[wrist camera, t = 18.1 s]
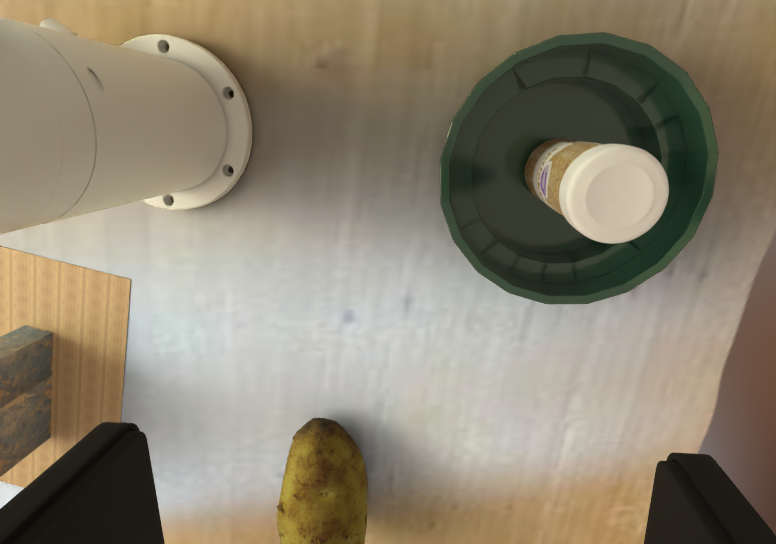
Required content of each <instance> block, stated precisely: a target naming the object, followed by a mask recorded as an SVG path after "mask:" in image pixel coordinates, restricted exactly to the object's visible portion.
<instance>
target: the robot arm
mask: <svg viewBox="0 0 776 544" xmlns="http://www.w3.org/2000/svg"><path fill="white" fill-rule="evenodd" d="M168 45H169V51H168V49H167V47H168ZM231 91H234V96H233V98H232V97H231V96H230V92H231ZM251 147H252V120H251V114H250V109H249V106H248V103H247V100H246V97H245V94H244V92H243V90H242V88H241V87H240V85H239V83H238V81H237V79H236V78H235V76H234V75H233V74H232V73H231V71H230V70H229V69H228V68H227V66H226V65H225V64H224V63H223V62H222V61H221V60H220V59H218V58H217V57H216V56H215V55H214V54H213V53H212V52H210V51H208V50H207V49H205V48H203V47H202V46H200V45H198V44H196V43H193V42H191V41H188V40H186V39H183V38H179V37H175V36H171V35H159V34H151V35H145V36H140V37H136V38H134V39H131V40H129V41H127V42H125V43H122V44H121V45H120V46H117V45H113V44H109V43H105V42H101V41H97V40H93V39H89V38H85V37H81V36H78V35H77V34H76V33H75V32H73V31H72V30H71V29H69V28H68V27H67V26H65V25H64V24H62V23H61V22H60V21H58V20H57V19H55V18H51V17H50V18H46V19H44V20H43V21H42V22H41V23H40V24H39V26H37V25H33V24H28V23H24V22H20V21H16V20H12V19H8V18H5V17H1V16H0V234H3V233H7V232H11V231H15V230H19V229H23V228H27V227H31V226H36V225H40V224H45V223H49V222H53V221H57V220H62V219H66V218H70V217H74V216H78V215H82V214H86V213H91V212H95V211H99V210H103V209H107V208H111V207H115V206H120V205H124V204H128V203H132V202H136V201H142V202H144V203H146V204H149V205H152V206H154V207H157V208H161V209H167V210H190V209H194V208H198V207H202V206H205V205H207V204H210V203H212V202H214V201H216V200H217V199H219V198H221V197H222V196H224V195H225V194H226V193H227V192H228V191H229V190H230V189H231V188H232V187H233V186H234V185H235V184H236V183H237V181H238V180H239V178H240V177H241V175H242V174H243V172H244V170H245V167H246V165H247V162H248V160H249V157H250V152H251ZM230 167H232V168H233V170H234V172H233V173H232V172H231V171H230ZM172 197H173V198H174V201H173V200H172ZM0 544H164V538H163V532H162V526H161V520H160V514H159V508H158V502H157V496H156V490H155V484H154V478H153V473H152V467H151V461H150V455H149V449H148V443H147V438H146V435H145V434H144V433H143V432H140V431H139V428H138V427H137V425H135V424H133V423H119V422H103V423H101V424H99V425H97V426H96V427H95V428H94V429H93V430H92V431H90V432H89V433H88V434H87V435H86V436H85V437H84V438H82V439H81V440H80V441H79V442H78V443H77V444H75V445H74V446H73V447H72V448H71V449H70V450H68V451H67V452H66V453H65V454H64V455H63V456H61V457H60V458H59V459H58V460H57V461H56V462H54V463H53V464H52V465H51V466H50V467H49V468H47V469H46V470H45V471H44V472H43V473H42V474H41V475H39V476H38V477H37V478H36V479H35V480H34V481H32V482H31V483H30V484H29V485H28V486H27V487H25V488H24V489H23V490H22V491H21V492H20V493H18V494H17V495H16V496H15V497H14V498H13V499H11V500H10V501H9V502H8V503H7V504H6V505H4V506H3V507H2V508H1V509H0ZM644 544H776V535H775V534H774V533H773V532H772V530H771V529H770V528H769V527H768V525H767V524H766V523H765V522H764V520H763V519H762V518H761V517H760V516H759V514H758V513H757V512H756V511H755V509H754V508H753V507H752V506H751V504H750V503H749V502H748V501H747V499H746V498H745V497H744V496H743V494H742V493H741V492H740V491H739V490H738V488H737V487H736V486H735V485H734V484H733V482H732V481H731V480H730V478H729V477H728V476H727V475H726V473H725V472H724V471H723V470H722V469H721V467H720V466H719V465H718V464H717V462H716V461H715V460H714V459H713V458H712V457H711V456H709V455H706V454H688V453H671V454H670V455H669V456H668V458H667V461H660V462H658V464H657V467H656V472H655V478H654V485H653V491H652V497H651V503H650V509H649V516H648V522H647V528H646V534H645V540H644Z"/></svg>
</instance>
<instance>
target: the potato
mask: <svg viewBox="0 0 776 544" xmlns="http://www.w3.org/2000/svg"><path fill="white" fill-rule="evenodd" d="M277 508H278V512H277V525H278V531H279V535H280V538H281V544H364V542H365V535H366V526H367V474H366V469H365V464H364V461H363V457H362V455H361V452H360V450H359V448H358V446H357V445H356V443H355V442H354V440H353V439H352V437H351V436H350V435H349V434H348V433H347V432H346V431H345V430H344V428H343V427H342V426H340V425H339V424H338V423H337V422H335V421H332V420H329V419H324V418H313V419H312V420H311V421H309V422H307V423H306V424H305V425H304V426H303V427H302V428H301V429H300V430H298V431H297V433H296V434H295V436H294V437H293V442H292V445H291V448H290V451H289V455H288V459H287V464H286V469H285V473H284V478H283V484H282V489H281V494H280V500H279V505H278V506H277Z"/></svg>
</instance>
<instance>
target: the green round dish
mask: <svg viewBox="0 0 776 544" xmlns="http://www.w3.org/2000/svg"><path fill="white" fill-rule="evenodd" d="M558 138H560V139H568V140H571V141H573V142H575V141H582V142H591V143H599V144H623V145H629V146H634V147H637V148H640V149H643V150H645V151H647V152H648V153H650V154H651V155H653V156H654V157H655V158H656V159H657V160H658V161H659V162H660V164H661V165H662V167H663V169H664V170H665V173H666V175H667V179H668V185H669V195H668V200H667V204H666V207H665V209H664V211H663V213H662V215H661V217H660V218H659V220H658V221H657V222H656V223H655V225H654V226H652V227H651V229H649V230H648V231H647V232H645V233H644V234H642V235H641V236H639V237H637V238H635V239H633V240H630V241H627V242H623V243H614V244H610V243H602V242H598V241H594V240H592V239H590V238H588V237H586V236H585V235H583V234H581V233H580V232H579V231H577V230H576V229H575V228H574V227H572V226H571V225H570V224H569V222H568V221H567V220H566V218H565V217H564V216H563V215H561V214H560V213H558V212H556V211H555V210H553V209H552V208H551V207H549V206H548V205H547V204H546V203H544V202H543V201H542V200H540V199H538V198H537V197H535V196H534V195H533V194H532V193H531V191H530V190H529V188H528V186H527V184H526V181H525V176H524V173H525V166H526V163H527V161H528V158H529V156H530V155H531V153H532V152H533V151H534V150H535V149H536V148H537V147H538V146H539V145H541V144H543V143H544V142H546V141H549V140H552V139H558ZM717 161H718V146H717V141H716V137H715V132H714V127H713V122H712V117H711V113H710V109H709V106H708V105H707V103H706V102H705V100H704V99H703V97H702V95H701V94H700V92H699V91H698V89H697V88H696V86H695V84H694V83H693V81H692V80H691V78H690V77H689V75H688V73H687V72H685V70H684V69H682V68H681V67H679V66H678V65H677V64H675V63H674V62H673V61H671V60H670V59H669V58H667V57H666V56H664V55H663V54H662V53H660V52H659V51H658V50H656V49H655V48H654V47H652V46H651V45H649V44H646V43H642V42H638V41H635V40H631V39H628V38H624V37H621V36H617V35H613V34H610V33H604V32H602V33H587V34H572V35H559V36H555V37H553V38H551V39H548V40H546V41H543V42H541V43H538V44H536V45H533V46H531V47H528V48H526V49H523V50H521V51H518V52H516V53H514V54H512V55H511V56H510V57H509V58H508V59H506V60H505V61H504V62H503V63H501V64H500V65H499V66H498V67H497V68H495V69H494V70H493V71H492V72H490V73H489V74H488V75H487V76H486V77H484V78H483V79H482V80H481V81H479V82H478V83H477V84H476V86H475V87H474V89H473V90H472V91H471V93H470V94H469V96H468V97H467V99H466V100H465V102H464V103H463V105H462V106H461V108H460V109H459V111H458V112H457V114H456V115H455V117H454V118H453V120H452V122H451V124H450V127H449V131H448V134H447V137H446V141H445V144H444V147H443V151H442V154H441V158H440V203H441V207H442V210H443V213H444V216H445V218H446V221H447V224H448V227H449V230H450V233H451V236H452V239H453V240H454V242H455V244H456V245H457V246H458V248H459V249H460V250H461V252H462V253H463V254H464V255H465V257H466V258H467V259H468V261H469V262H470V263H471V265H472V266H473V267H474V268H475V270H476V271H477V272H478V273H480V274H481V275H483V276H484V277H486V278H487V279H489V280H490V281H492V282H493V283H495V284H496V285H498V286H499V287H500V288H502V289H503V290H505V291H506V292H508V293H510V294H514V295H517V296H520V297H524V298H527V299H530V300H534V301H537V302H541V303H544V304H589V303H592V302H596V301H599V300H602V299H606V298H609V297H613V296H616V295H619V294H623V293H626V292H628V291H630V290H632V289H633V288H635V287H636V286H638V285H639V284H641V283H643V282H644V281H646V280H647V279H649V278H651V277H652V276H654V275H655V274H657V273H659V272H660V271H662V270H663V269H665V268H666V267H667V265H668V264H669V263H670V262H671V261H672V260H673V259H674V258H675V257H676V255H677V254H678V253H679V252H680V251H681V250H682V249H683V248H684V247H685V245H686V244H687V243H688V242H689V241H690V240H691V239H692V238H693V236H694V235H695V233H696V230H697V228H698V226H699V224H700V222H701V220H702V218H703V216H704V214H705V211H706V209H707V207H708V205H709V203H710V201H711V199H712V197H713V196H712V195H713V191H714V183H715V176H716V168H717Z"/></svg>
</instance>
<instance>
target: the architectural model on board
mask: <svg viewBox="0 0 776 544" xmlns="http://www.w3.org/2000/svg"><path fill="white" fill-rule="evenodd" d="M130 281H131V279H127V278H123V277H119V276H115V275H111V274H107V273H103V272H99V271H95V270H91V269H87V268H83V267H80V266H76V265H72V264H68V263H64V262H60V261H56V260H52V259H48V258H44V257H40V256H36V255H32V254H28V253H24V252H20V251H16V250H13V249H9V248H5V247H1V246H0V481H2V482H6V483H10V484H13V485H17V486H21V487H24V488H25V487H27V486H28V485H29V484H30V483H31V482H32V481H34V480H35V479H36V478H37V477H38V476H39V475H41V474H42V473H43V472H44V471H45V470H46V469H47V468H49V467H50V466H51V465H52V464H53V463H54V462H56V461H57V460H58V459H59V458H60V457H61V456H63V455H64V454H65V453H66V452H67V451H68V450H70V449H71V448H72V447H73V446H74V445H75V444H77V443H78V442H79V441H80V440H81V439H82V438H84V437H85V436H86V435H87V434H88V433H89V432H90V431H92V430H93V429H94V428H95V427H96V426H97V425H99V424H101V423H103V422H119V423H120V421H121V407H122V393H123V379H124V365H125V351H126V337H127V323H128V309H129V295H130Z"/></svg>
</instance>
